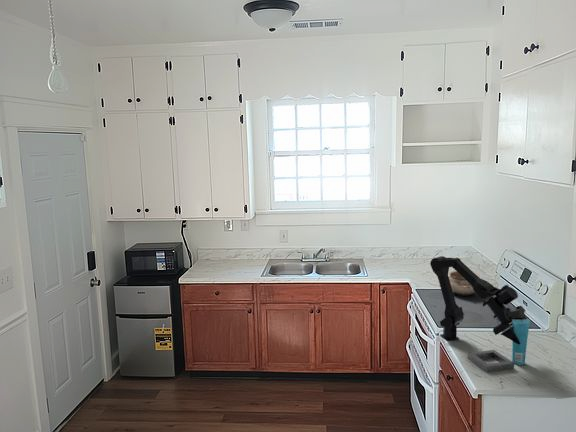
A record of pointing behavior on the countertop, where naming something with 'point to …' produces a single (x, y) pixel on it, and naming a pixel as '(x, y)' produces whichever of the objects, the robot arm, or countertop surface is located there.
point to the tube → (522, 334)
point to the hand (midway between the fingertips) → (522, 342)
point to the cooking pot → (460, 284)
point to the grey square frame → (503, 365)
